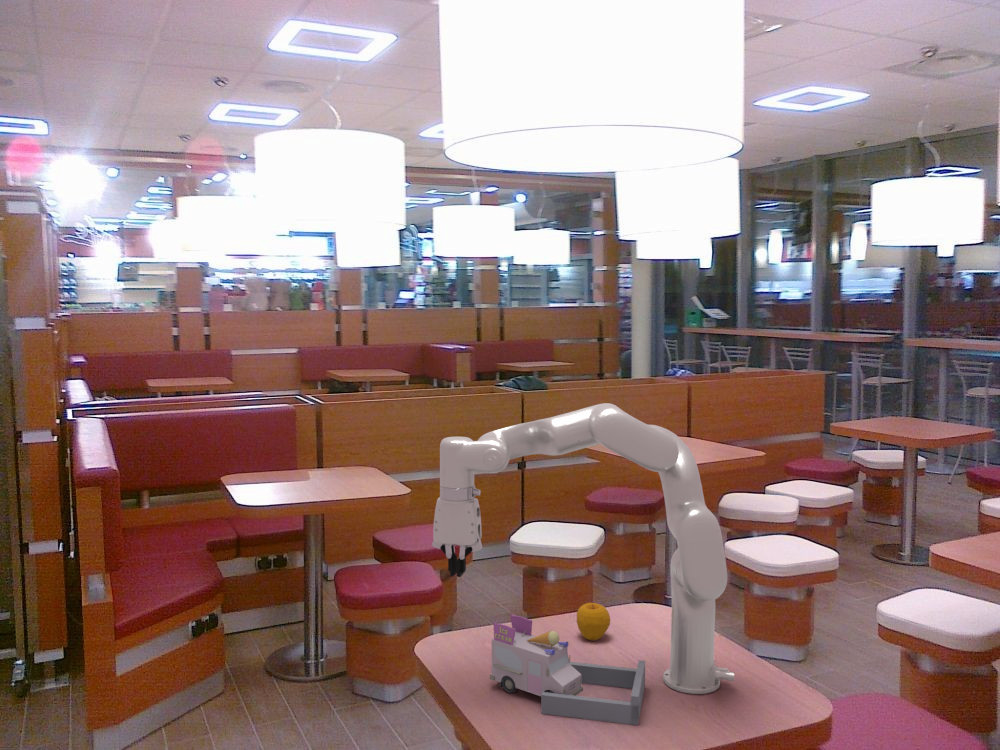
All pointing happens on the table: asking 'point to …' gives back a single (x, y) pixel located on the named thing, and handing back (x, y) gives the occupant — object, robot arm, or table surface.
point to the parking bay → (597, 706)
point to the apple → (593, 621)
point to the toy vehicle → (532, 660)
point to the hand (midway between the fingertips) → (457, 574)
